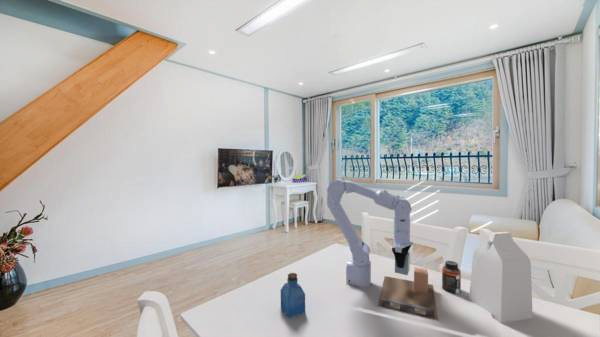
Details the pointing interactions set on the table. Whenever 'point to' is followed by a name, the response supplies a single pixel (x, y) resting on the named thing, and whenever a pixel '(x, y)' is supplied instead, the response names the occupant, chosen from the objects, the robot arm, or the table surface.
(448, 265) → the supplement bottle
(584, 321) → the table surface
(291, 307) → the perfume bottle
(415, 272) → the peach carton
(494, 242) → the milk
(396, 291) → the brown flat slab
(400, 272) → the slate carton
